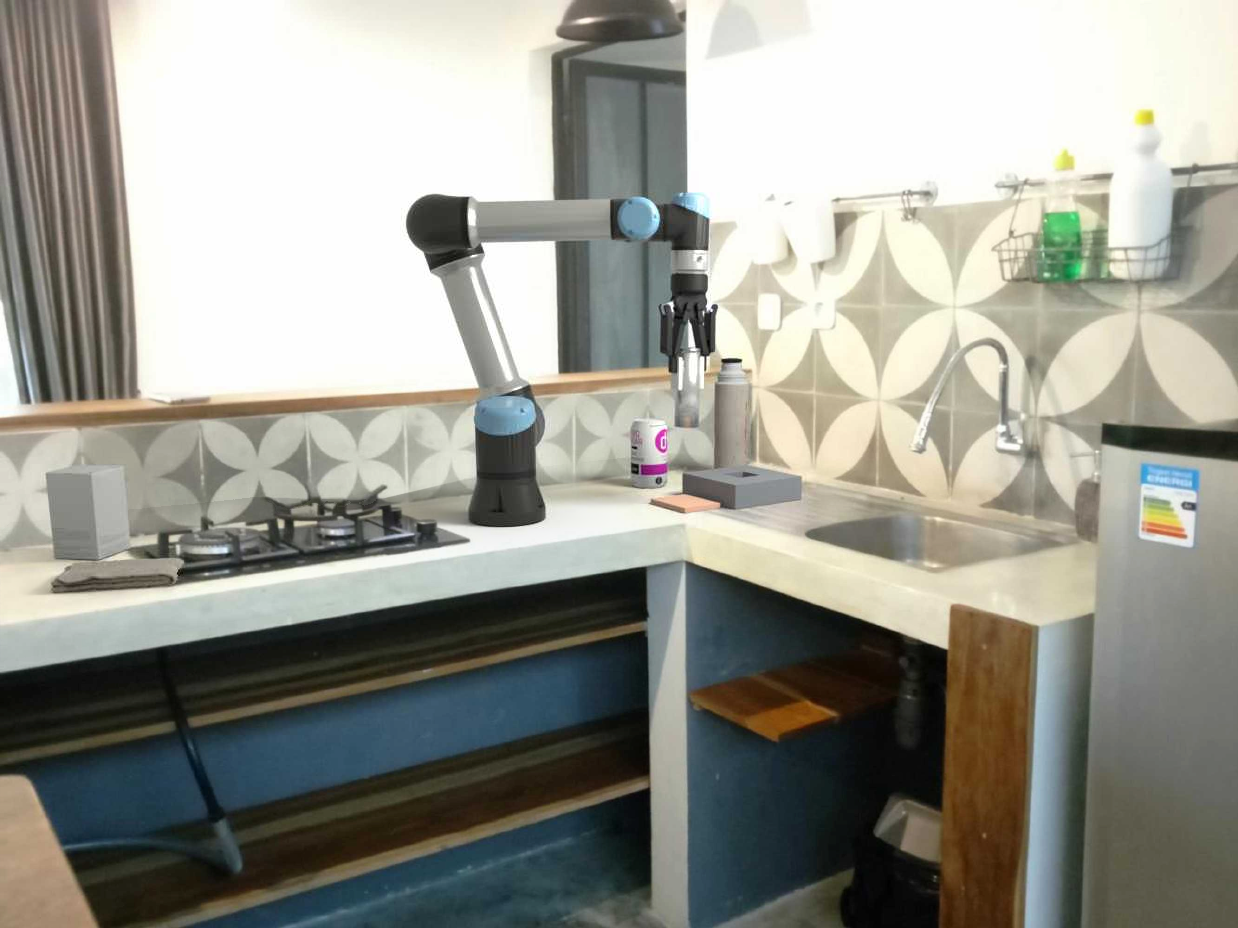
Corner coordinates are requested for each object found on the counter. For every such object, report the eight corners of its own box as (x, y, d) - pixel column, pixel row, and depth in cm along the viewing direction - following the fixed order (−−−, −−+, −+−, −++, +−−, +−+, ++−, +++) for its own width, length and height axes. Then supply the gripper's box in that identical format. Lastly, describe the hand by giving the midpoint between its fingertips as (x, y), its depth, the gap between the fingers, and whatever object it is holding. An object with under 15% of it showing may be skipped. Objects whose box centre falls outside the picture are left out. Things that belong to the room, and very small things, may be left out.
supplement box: (133, 548, 192) (126, 464, 189) (99, 561, 183) (91, 473, 181) (87, 546, 194) (80, 463, 191) (52, 558, 185) (43, 471, 182)
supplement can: (673, 484, 249) (673, 419, 247) (655, 490, 242) (655, 423, 240) (643, 481, 254) (642, 417, 251) (624, 486, 247) (624, 421, 244)
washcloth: (68, 577, 174) (66, 559, 174) (187, 570, 179) (186, 551, 178) (48, 598, 163) (46, 578, 163) (176, 589, 167) (175, 569, 167)
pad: (684, 513, 218) (684, 508, 218) (650, 503, 228) (650, 498, 228) (720, 507, 223) (720, 503, 223) (685, 498, 233) (685, 494, 232)
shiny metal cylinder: (684, 428, 220) (685, 349, 217) (669, 425, 224) (670, 347, 221) (703, 426, 223) (705, 348, 220) (688, 424, 227) (690, 347, 224)
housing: (735, 509, 221) (735, 485, 220) (682, 495, 236) (682, 472, 235) (801, 499, 231) (801, 476, 230) (746, 486, 246) (746, 464, 245)
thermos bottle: (750, 473, 262) (751, 357, 258) (744, 479, 255) (745, 359, 250) (717, 472, 265) (718, 357, 260) (710, 478, 257) (711, 359, 252)
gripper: (664, 272, 210) (662, 392, 214) (736, 273, 220) (733, 388, 224) (641, 272, 216) (640, 389, 220) (712, 273, 226) (710, 385, 230)
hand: (687, 388), depth 222 cm, fingers closed on shiny metal cylinder, 5 cm apart
